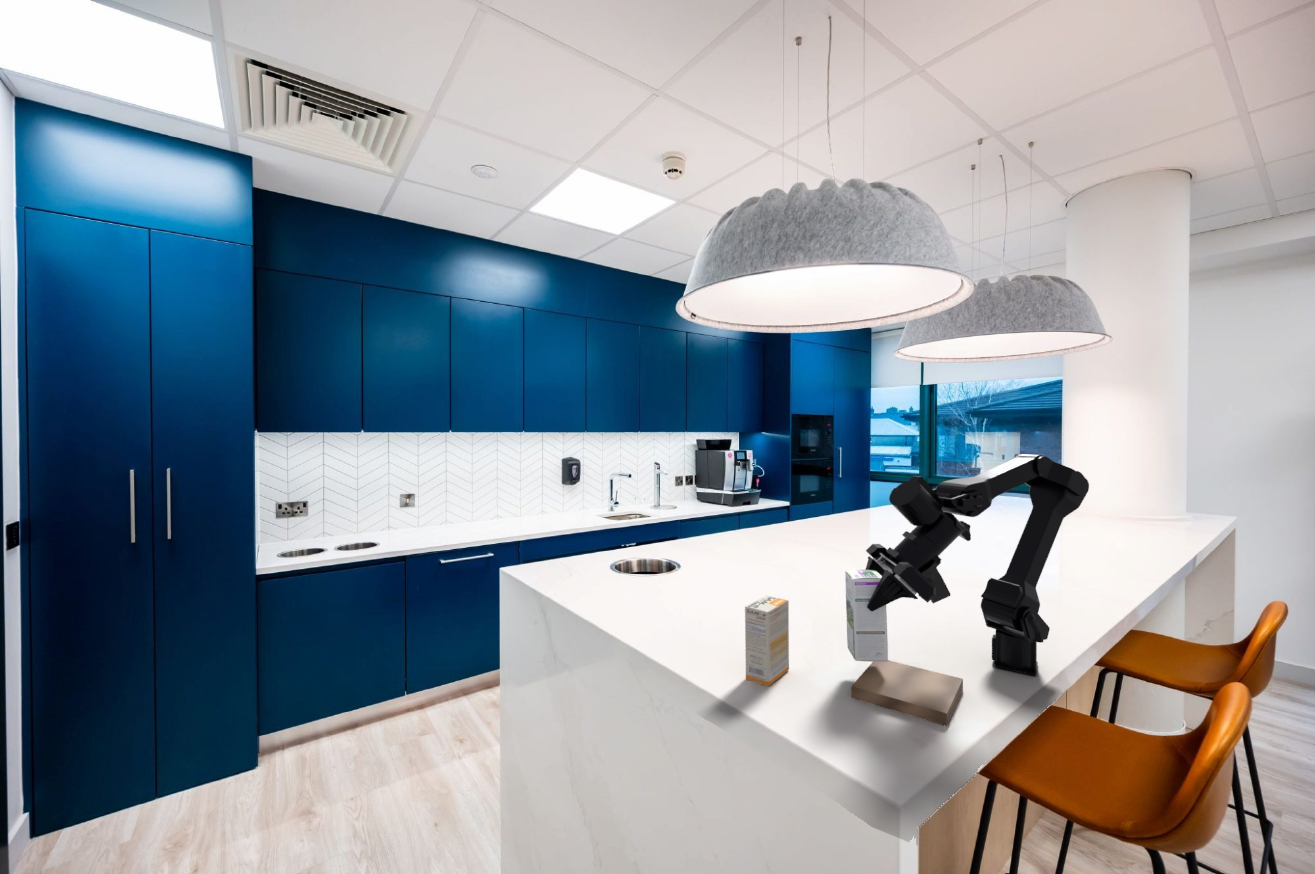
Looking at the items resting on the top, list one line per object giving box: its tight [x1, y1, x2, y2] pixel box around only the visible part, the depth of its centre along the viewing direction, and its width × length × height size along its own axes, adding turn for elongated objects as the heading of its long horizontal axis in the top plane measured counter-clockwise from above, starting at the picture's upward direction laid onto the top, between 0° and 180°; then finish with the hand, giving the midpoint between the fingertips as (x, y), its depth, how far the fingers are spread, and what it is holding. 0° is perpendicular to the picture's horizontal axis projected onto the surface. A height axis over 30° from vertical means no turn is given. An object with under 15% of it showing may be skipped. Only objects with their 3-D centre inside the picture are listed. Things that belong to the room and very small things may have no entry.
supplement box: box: [744, 595, 790, 687], centre depth 97 cm, size 8×5×13 cm, turn 141°
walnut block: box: [850, 659, 964, 727], centre depth 90 cm, size 14×14×2 cm
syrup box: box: [844, 569, 889, 663], centre depth 95 cm, size 6×6×14 cm
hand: (863, 603), depth 95 cm, fingers closed on syrup box, 6 cm apart
